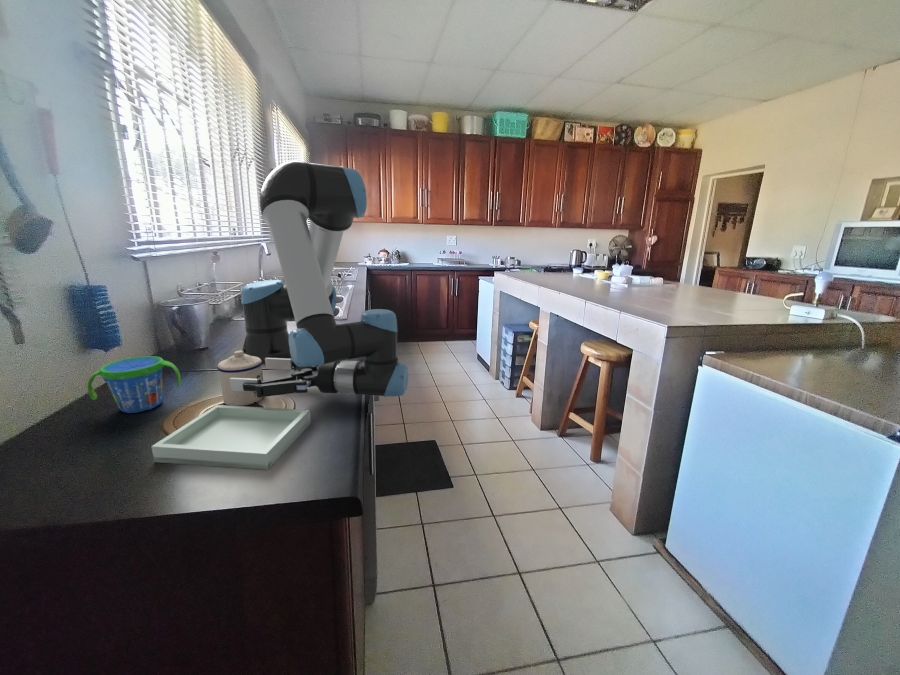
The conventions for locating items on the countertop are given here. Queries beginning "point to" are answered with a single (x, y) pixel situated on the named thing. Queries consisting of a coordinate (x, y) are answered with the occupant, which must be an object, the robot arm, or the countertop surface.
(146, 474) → the countertop surface
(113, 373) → the snack cup
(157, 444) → the sage tray
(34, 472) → the countertop surface
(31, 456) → the countertop surface
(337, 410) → the countertop surface
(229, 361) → the teacup with lid
